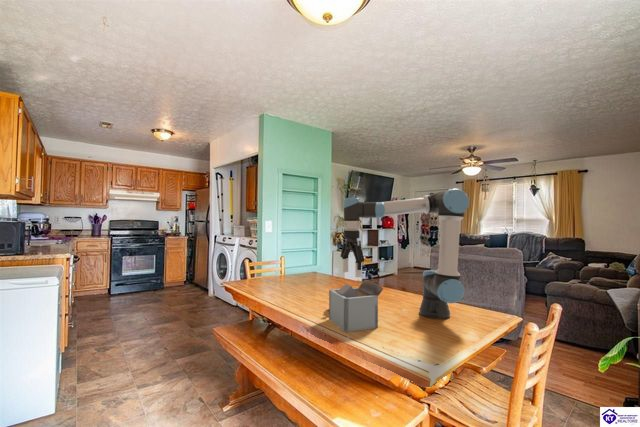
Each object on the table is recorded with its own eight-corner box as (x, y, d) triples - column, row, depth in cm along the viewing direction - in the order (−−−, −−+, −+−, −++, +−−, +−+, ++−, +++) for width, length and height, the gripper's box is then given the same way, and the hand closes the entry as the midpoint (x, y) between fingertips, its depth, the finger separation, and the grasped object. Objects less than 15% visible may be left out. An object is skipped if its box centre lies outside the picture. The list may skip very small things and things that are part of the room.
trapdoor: (368, 283, 154) (364, 278, 153) (383, 289, 141) (378, 284, 140) (348, 310, 150) (343, 306, 149) (361, 319, 137) (356, 314, 136)
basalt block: (355, 297, 147) (345, 283, 145) (361, 301, 141) (351, 286, 140) (346, 306, 145) (336, 291, 143) (352, 309, 139) (341, 294, 138)
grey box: (358, 315, 154) (358, 287, 155) (377, 327, 137) (377, 295, 137) (329, 319, 148) (329, 289, 149) (345, 332, 131) (345, 298, 132)
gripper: (334, 229, 154) (334, 270, 153) (356, 230, 131) (357, 279, 130) (347, 229, 157) (347, 269, 156) (371, 230, 133) (372, 278, 133)
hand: (351, 274), depth 143 cm, fingers open, 13 cm apart
